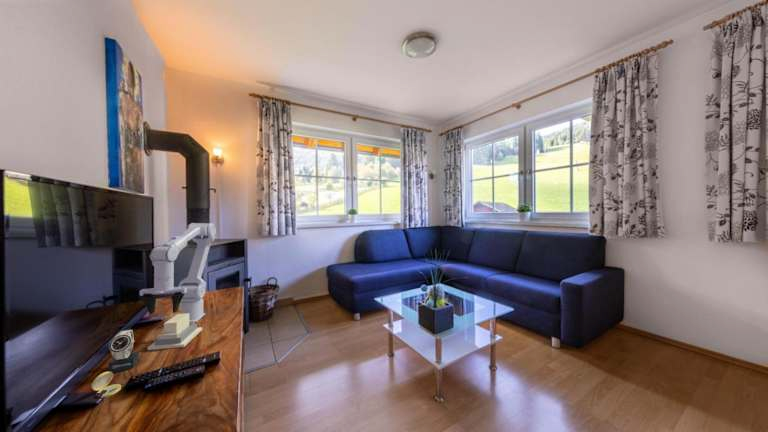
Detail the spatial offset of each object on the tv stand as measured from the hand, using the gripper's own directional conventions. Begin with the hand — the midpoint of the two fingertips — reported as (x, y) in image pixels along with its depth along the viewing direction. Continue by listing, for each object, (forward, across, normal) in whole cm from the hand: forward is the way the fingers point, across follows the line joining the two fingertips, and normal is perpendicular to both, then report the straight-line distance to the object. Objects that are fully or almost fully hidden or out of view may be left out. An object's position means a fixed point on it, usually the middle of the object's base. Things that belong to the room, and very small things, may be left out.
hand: (163, 312), depth 99 cm
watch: (+10, 0, -20) cm, 22 cm away
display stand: (+9, +6, -3) cm, 12 cm away
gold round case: (+10, +3, -32) cm, 34 cm away
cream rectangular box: (+6, +6, -3) cm, 9 cm away
